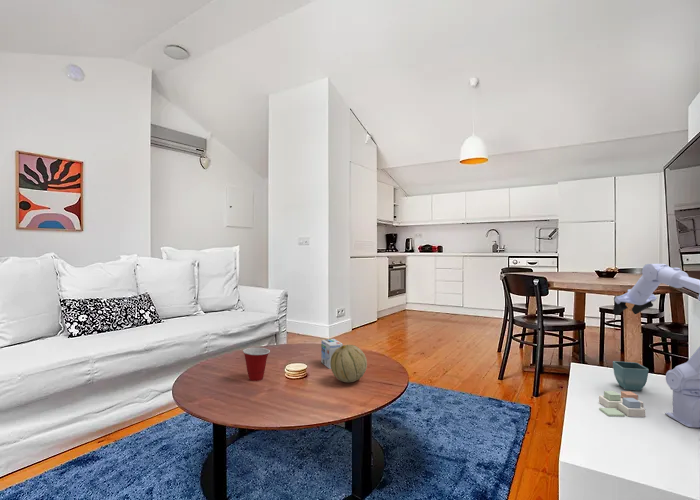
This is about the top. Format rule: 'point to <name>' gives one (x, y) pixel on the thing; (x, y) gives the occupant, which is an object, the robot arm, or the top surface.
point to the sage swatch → (611, 412)
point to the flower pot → (630, 375)
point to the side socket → (631, 411)
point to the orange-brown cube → (628, 395)
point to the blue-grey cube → (631, 403)
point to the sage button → (612, 396)
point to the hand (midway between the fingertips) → (624, 312)
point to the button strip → (612, 402)
